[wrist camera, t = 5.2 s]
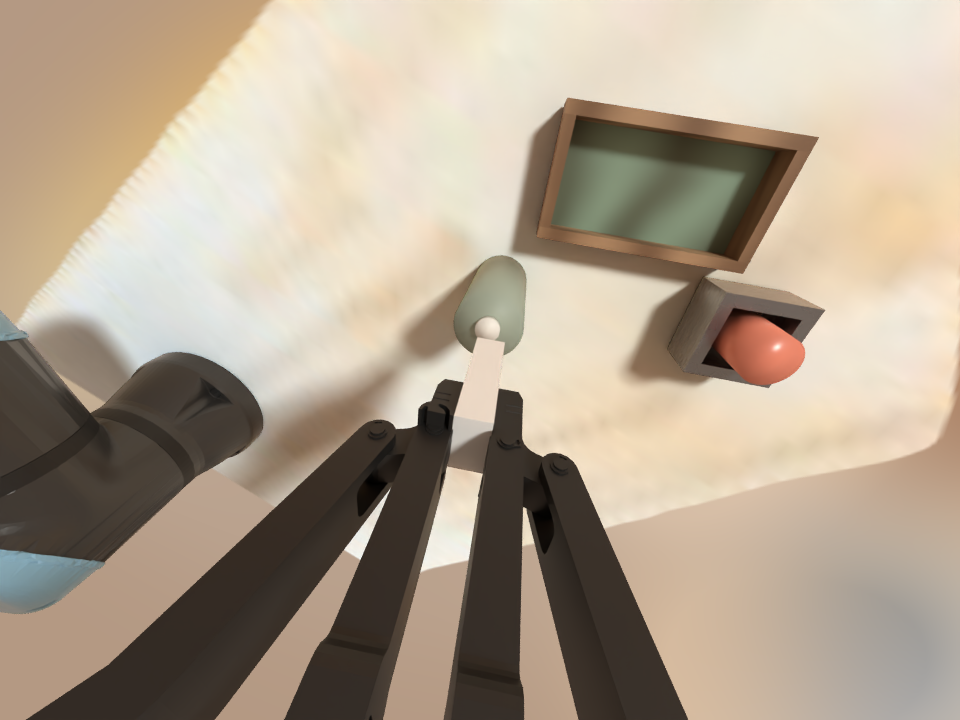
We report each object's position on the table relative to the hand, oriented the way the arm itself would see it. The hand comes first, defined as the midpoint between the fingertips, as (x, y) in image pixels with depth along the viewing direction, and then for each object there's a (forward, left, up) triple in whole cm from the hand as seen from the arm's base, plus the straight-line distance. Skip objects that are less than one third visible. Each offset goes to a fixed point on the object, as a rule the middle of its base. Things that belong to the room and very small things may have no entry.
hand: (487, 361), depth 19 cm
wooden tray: (+10, +9, -14) cm, 19 cm away
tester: (+20, 0, -14) cm, 24 cm away
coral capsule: (+20, 0, -13) cm, 24 cm away
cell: (0, 0, -14) cm, 14 cm away
